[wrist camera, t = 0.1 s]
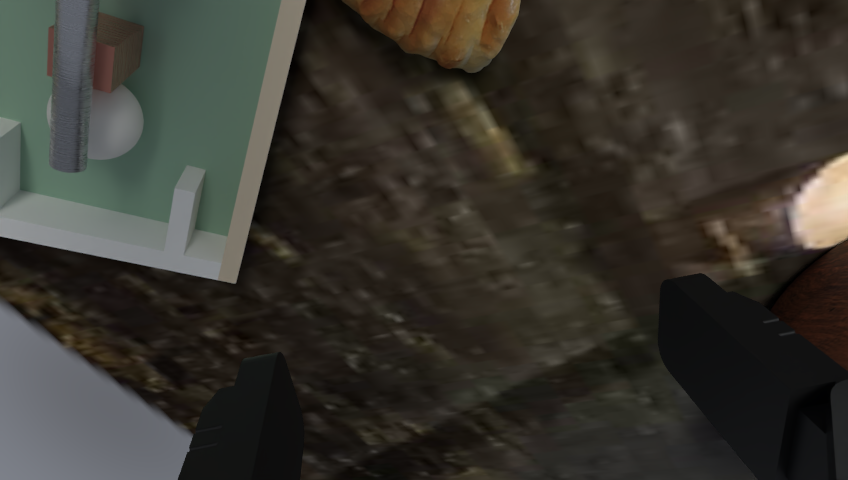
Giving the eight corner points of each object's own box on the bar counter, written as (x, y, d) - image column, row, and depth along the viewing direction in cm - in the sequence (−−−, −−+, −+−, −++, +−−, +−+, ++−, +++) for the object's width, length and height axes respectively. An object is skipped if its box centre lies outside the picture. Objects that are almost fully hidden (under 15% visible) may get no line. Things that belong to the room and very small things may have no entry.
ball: (69, 53, 27) (31, 76, 23) (158, 79, 28) (133, 105, 24) (65, 128, 28) (29, 160, 25) (148, 149, 30) (124, 183, 26)
